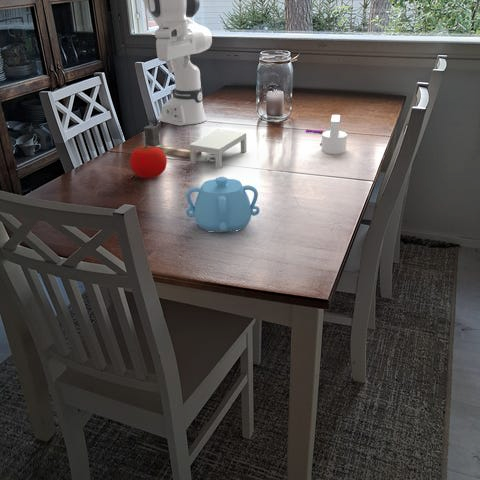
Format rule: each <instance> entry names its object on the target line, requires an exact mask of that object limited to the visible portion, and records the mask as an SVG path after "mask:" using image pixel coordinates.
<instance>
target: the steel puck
mask: <svg viewBox="0 0 480 480" xmlns="http://www.w3.org/2000/svg"><path fill="white" fill-rule="evenodd" d="M206 162H207V163H209V164H216V159H215V154H209V155H207V156H206Z"/></svg>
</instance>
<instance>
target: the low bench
mask: <svg viewBox="0 0 480 480" xmlns="http://www.w3.org/2000/svg"><path fill="white" fill-rule="evenodd" d="M239 143H240V152H242V153H246V152H247V132H244V131H235V130H227V129H223V128H222V129H220V128H216V130H214V131H211V132H210V133H207V135H204V136H203V137H200V138H198V139H196V140H195V141H193V142H191V143H190V144H189V150H190V157H189V158H190V159H189V160H190V164H191V165H193V164H194V165H195V164H197V163H198V160H197V159H198V158H197V155H196V151H199V152H202V153H206V154H210V155H215V159H216V163H215V168H216V169H222V167H223V158H222V157H223V155H222V154H223V153H226V151H228V150H229V149H231V148H232V147H234V146H236V145H237V144H239Z"/></svg>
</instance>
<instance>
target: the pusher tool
mask: <svg viewBox="0 0 480 480" xmlns="http://www.w3.org/2000/svg"><path fill="white" fill-rule="evenodd" d="M143 133H144V135H143V136H144V143H145V146H147V145H148V146H153V147H158V148H160V149H161V150H162V151H163V152H164V154H166V155H167V154H168V155H174V156H178V157H185V158H190V149H185V148H177V147H175V146H174V147H173V146H167V145H160V143H161V142H160V133H159V126H158V125H150V124H149V125H146V126H144V127H143ZM202 153H203V152H199V151H196V155H197V159H198V158H199V157H201V156H202Z"/></svg>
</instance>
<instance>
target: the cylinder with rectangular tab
mask: <svg viewBox="0 0 480 480" xmlns="http://www.w3.org/2000/svg"><path fill="white" fill-rule="evenodd" d="M340 120H341V115H340V114H332V115H331V119H330V128H329V129H330V131H329V130H326V131H323V133H322V134H321V142H322V146H321V151H322V152H323V153H326V154H330V155H338V154H339V155H340V154H343V153H345V152H346V150H347V138H348V134H347V133H346V132H345V131H341V130H340V122H341V121H340Z"/></svg>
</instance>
